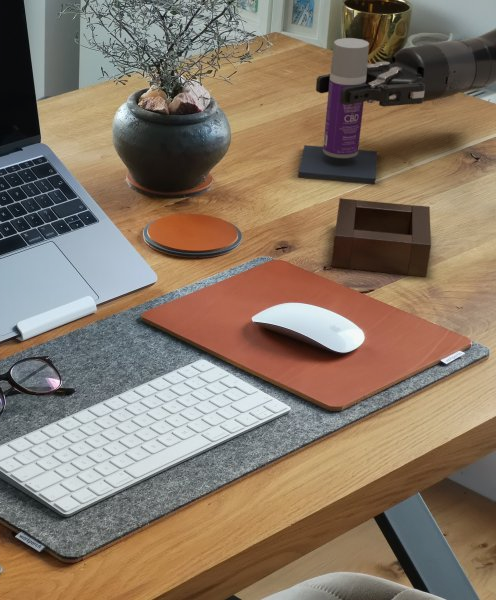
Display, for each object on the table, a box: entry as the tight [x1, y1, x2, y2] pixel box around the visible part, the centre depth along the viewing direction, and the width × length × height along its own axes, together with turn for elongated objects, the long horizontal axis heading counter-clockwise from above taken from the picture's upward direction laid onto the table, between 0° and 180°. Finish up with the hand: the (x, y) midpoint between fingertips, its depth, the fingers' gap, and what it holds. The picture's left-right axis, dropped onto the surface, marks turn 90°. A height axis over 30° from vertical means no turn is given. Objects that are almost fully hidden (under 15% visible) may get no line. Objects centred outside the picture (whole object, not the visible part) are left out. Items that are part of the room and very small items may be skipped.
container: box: [322, 37, 370, 158], centre depth 147 cm, size 5×5×15 cm
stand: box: [330, 197, 432, 278], centre depth 128 cm, size 10×10×4 cm
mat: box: [297, 144, 378, 185], centre depth 151 cm, size 10×10×1 cm
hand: (330, 90), depth 145 cm, fingers closed on container, 4 cm apart
